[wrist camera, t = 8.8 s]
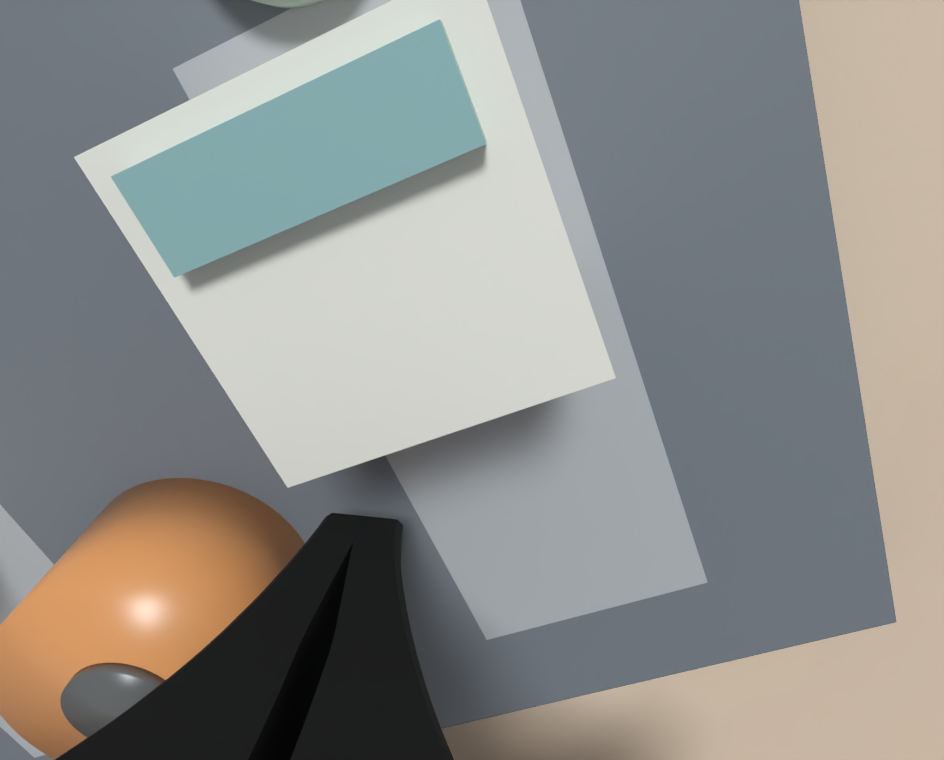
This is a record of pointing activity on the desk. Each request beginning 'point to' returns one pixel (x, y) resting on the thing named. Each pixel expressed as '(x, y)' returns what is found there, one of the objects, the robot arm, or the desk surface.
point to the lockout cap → (134, 604)
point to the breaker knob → (361, 239)
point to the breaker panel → (516, 434)
